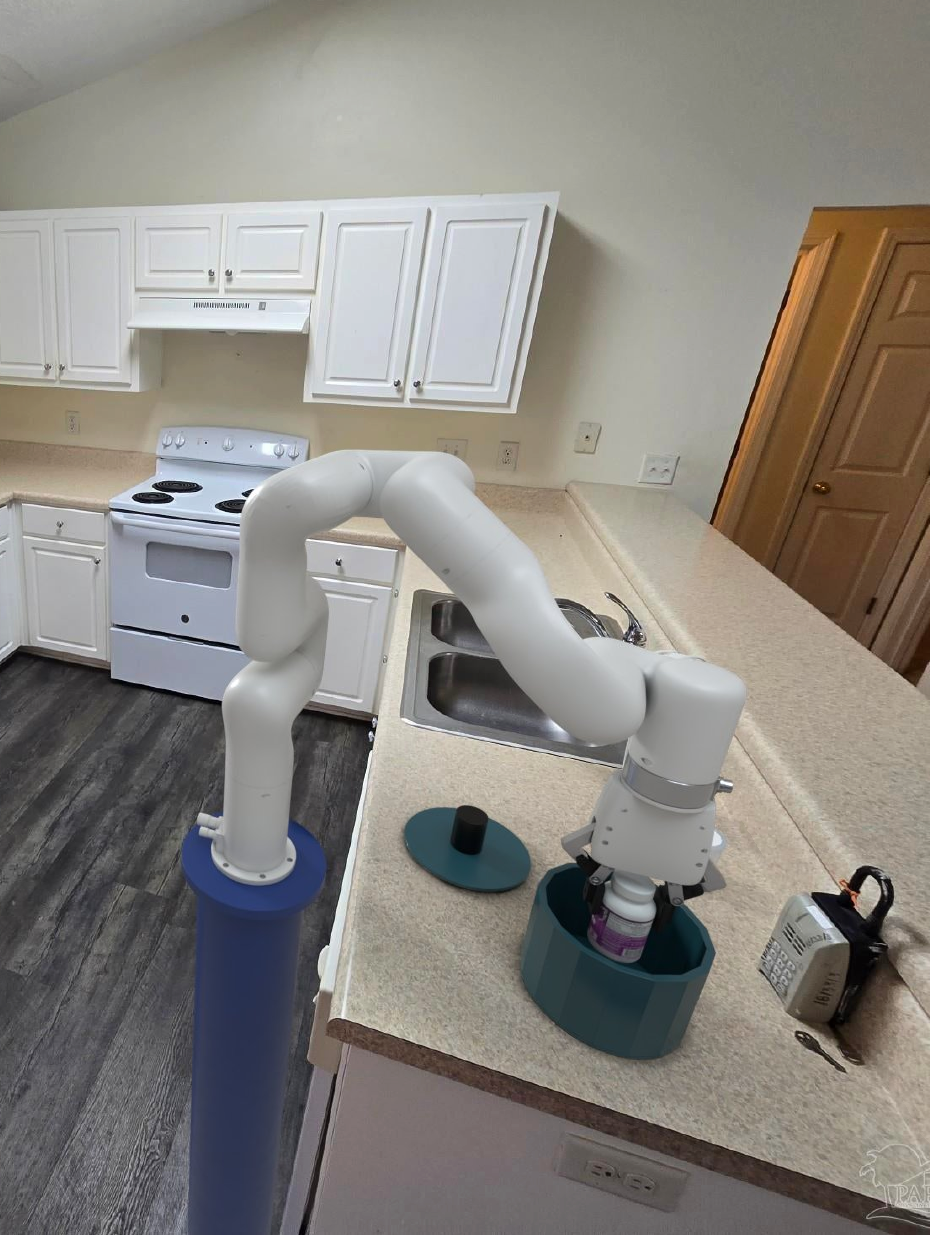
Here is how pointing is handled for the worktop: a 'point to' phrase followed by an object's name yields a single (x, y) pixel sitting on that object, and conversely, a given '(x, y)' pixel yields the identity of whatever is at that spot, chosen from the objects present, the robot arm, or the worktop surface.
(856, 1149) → the worktop surface
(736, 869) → the worktop surface
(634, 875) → the pill bottle
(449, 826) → the lid
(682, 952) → the pot
